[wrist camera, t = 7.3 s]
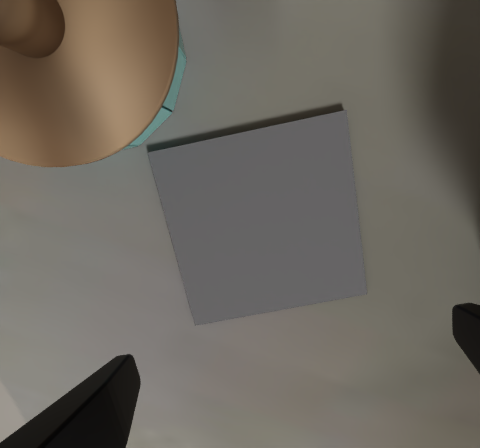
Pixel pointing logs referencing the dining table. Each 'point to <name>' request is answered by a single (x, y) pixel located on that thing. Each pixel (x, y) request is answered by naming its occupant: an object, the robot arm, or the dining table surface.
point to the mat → (264, 218)
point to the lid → (82, 76)
